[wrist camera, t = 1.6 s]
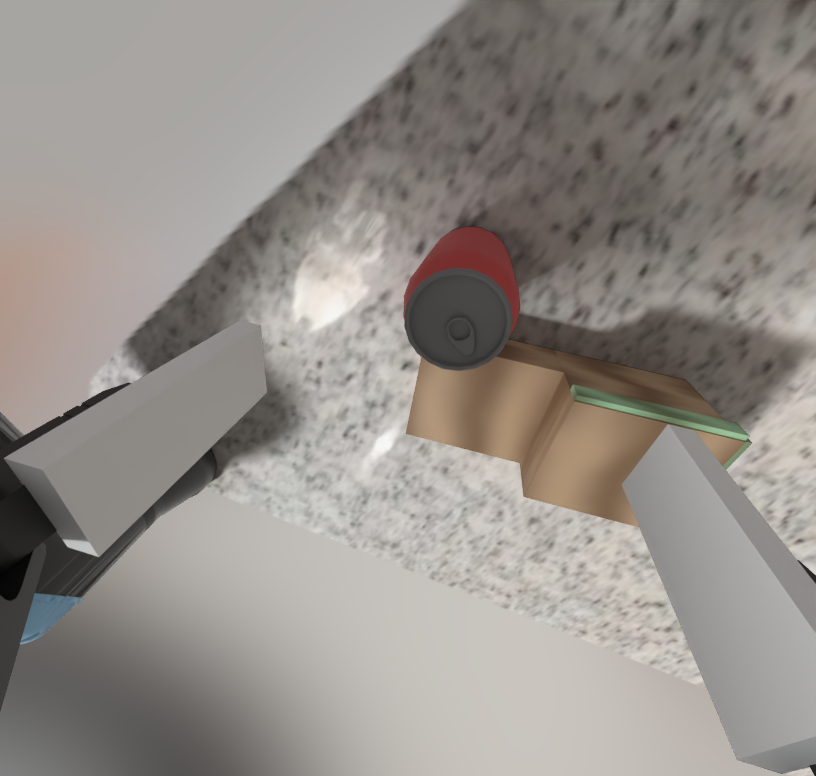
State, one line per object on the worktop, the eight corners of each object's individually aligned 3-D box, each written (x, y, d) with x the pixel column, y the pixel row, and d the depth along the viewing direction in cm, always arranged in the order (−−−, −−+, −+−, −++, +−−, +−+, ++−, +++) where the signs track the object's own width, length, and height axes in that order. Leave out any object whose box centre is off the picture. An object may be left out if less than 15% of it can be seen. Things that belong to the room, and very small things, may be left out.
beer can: (445, 320, 30) (423, 392, 20) (415, 246, 27) (372, 288, 17) (520, 292, 28) (538, 360, 18) (495, 209, 25) (500, 233, 15)
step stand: (413, 409, 36) (396, 463, 29) (432, 317, 30) (417, 357, 23) (630, 463, 34) (664, 533, 27) (694, 376, 28) (758, 438, 22)
